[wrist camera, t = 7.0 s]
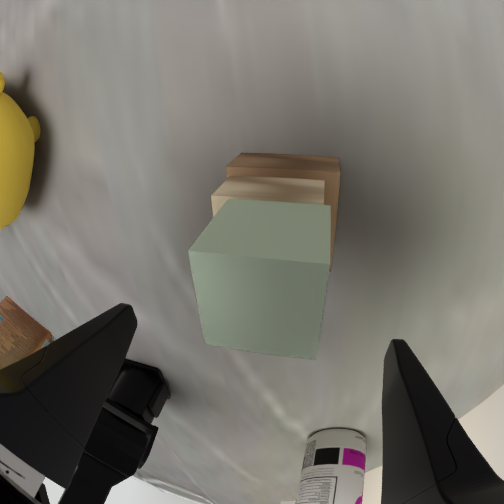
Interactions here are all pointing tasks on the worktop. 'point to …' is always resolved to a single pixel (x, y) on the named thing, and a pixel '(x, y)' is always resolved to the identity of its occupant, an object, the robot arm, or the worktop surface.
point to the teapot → (15, 156)
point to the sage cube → (263, 276)
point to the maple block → (268, 190)
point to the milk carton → (19, 333)
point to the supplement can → (333, 468)
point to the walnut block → (294, 174)
